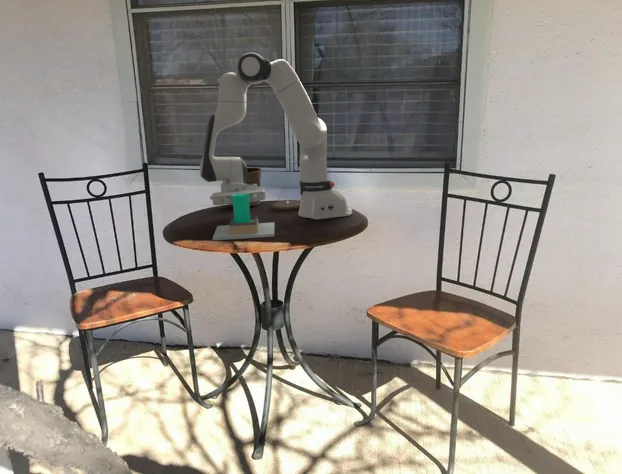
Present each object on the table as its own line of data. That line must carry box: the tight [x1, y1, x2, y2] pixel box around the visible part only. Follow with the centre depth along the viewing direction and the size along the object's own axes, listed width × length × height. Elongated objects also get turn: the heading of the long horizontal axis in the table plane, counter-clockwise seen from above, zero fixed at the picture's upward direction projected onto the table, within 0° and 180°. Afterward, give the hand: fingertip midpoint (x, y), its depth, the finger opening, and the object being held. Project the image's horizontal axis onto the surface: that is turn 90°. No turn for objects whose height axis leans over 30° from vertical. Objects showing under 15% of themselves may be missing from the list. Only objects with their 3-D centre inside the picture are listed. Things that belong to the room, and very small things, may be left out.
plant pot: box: [245, 167, 263, 208], centre depth 231 cm, size 16×16×16 cm
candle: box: [232, 193, 251, 223], centre depth 186 cm, size 6×6×12 cm
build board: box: [212, 215, 276, 241], centre depth 188 cm, size 22×16×5 cm
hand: (242, 200), depth 186 cm, fingers open, 8 cm apart
